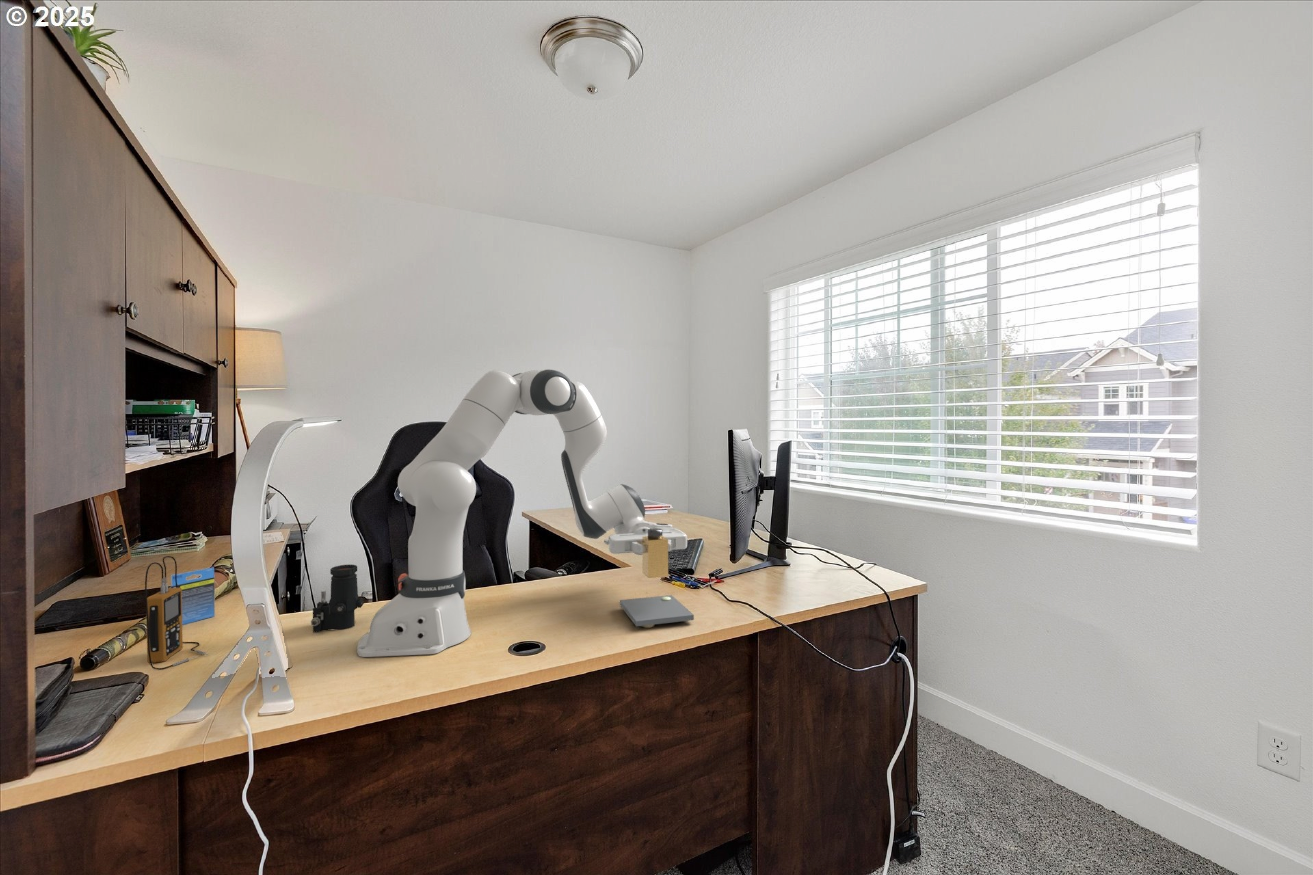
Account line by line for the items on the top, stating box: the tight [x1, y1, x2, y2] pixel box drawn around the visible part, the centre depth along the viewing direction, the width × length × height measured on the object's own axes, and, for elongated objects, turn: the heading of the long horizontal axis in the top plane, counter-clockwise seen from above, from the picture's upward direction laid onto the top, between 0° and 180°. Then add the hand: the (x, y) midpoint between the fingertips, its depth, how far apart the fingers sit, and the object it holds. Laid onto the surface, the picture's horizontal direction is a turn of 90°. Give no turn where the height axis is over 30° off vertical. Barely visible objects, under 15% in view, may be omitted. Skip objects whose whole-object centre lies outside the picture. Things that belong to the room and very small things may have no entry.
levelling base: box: [619, 594, 695, 628], centre depth 136 cm, size 14×16×2 cm
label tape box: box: [168, 566, 216, 626], centre depth 133 cm, size 9×4×12 cm, turn 154°
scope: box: [310, 564, 364, 634], centre depth 129 cm, size 8×14×10 cm
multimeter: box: [144, 555, 210, 671], centre depth 114 cm, size 15×10×20 cm
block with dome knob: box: [642, 528, 669, 579], centre depth 136 cm, size 5×5×11 cm
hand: (656, 548), depth 135 cm, fingers closed on block with dome knob, 5 cm apart
